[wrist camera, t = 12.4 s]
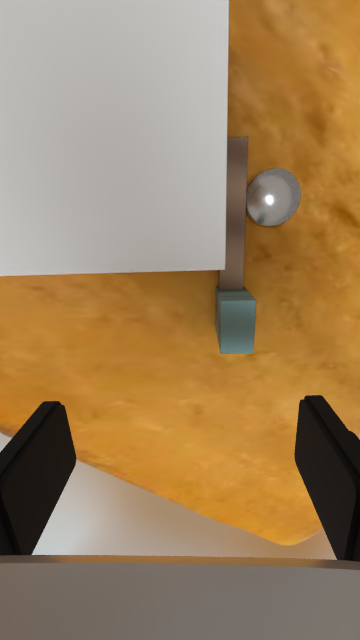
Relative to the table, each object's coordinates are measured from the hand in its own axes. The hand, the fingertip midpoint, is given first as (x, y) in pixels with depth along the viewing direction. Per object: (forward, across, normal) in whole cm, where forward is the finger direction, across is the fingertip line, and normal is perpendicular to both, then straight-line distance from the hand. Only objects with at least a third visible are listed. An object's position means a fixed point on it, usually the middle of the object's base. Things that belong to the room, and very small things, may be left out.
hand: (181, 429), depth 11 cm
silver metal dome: (+22, -8, -10) cm, 25 cm away
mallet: (+22, -5, -5) cm, 23 cm away
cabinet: (+22, +6, -12) cm, 26 cm away
